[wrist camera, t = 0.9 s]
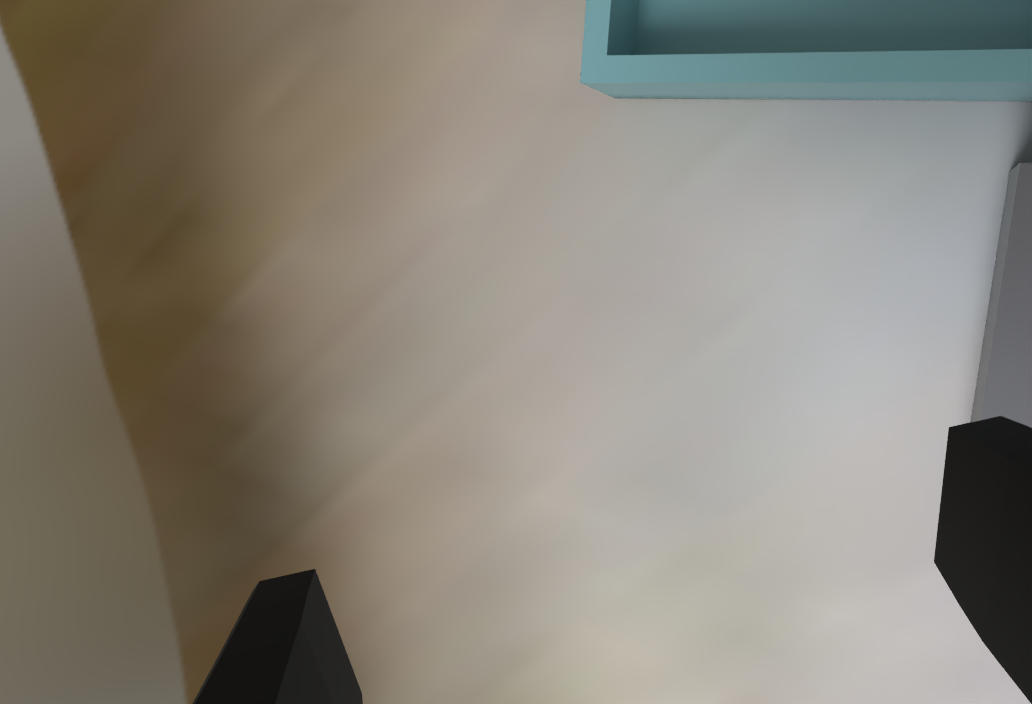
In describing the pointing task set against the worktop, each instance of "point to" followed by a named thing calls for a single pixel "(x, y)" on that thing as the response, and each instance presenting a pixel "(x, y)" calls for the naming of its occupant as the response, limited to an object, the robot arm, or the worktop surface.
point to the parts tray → (809, 49)
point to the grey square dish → (1009, 313)
